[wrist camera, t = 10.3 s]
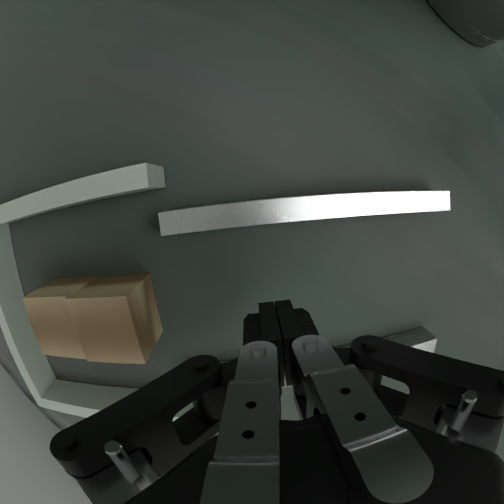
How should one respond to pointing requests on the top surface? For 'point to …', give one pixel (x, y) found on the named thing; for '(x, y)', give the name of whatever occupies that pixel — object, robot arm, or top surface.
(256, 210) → the slot rails
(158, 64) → the top surface
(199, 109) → the top surface
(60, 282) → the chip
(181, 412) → the frame
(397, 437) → the robot arm
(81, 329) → the tan cube
